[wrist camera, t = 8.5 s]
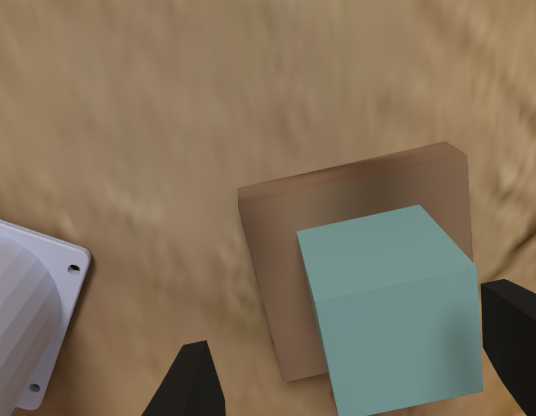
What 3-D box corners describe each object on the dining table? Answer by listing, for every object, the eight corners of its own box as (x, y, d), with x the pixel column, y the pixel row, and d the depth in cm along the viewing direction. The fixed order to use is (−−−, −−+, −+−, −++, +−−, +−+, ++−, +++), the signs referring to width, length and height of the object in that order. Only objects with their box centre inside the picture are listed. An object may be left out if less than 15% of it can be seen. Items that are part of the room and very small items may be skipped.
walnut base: (280, 353, 24) (284, 382, 22) (237, 188, 21) (238, 206, 19) (459, 315, 24) (477, 341, 22) (446, 141, 20) (467, 154, 19)
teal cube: (317, 331, 21) (339, 421, 17) (296, 231, 19) (314, 301, 15) (429, 307, 21) (483, 391, 17) (419, 204, 19) (477, 266, 15)
